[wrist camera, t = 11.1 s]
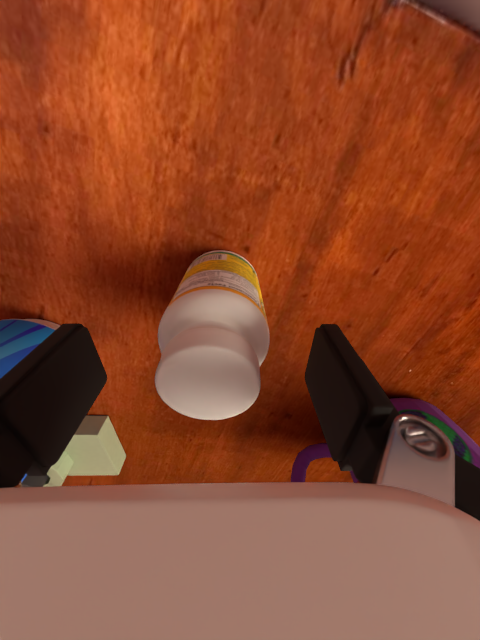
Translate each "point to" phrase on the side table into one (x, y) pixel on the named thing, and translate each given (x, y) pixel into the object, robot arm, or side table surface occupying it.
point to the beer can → (21, 341)
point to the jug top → (89, 452)
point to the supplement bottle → (213, 339)
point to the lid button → (34, 481)
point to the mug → (417, 407)
